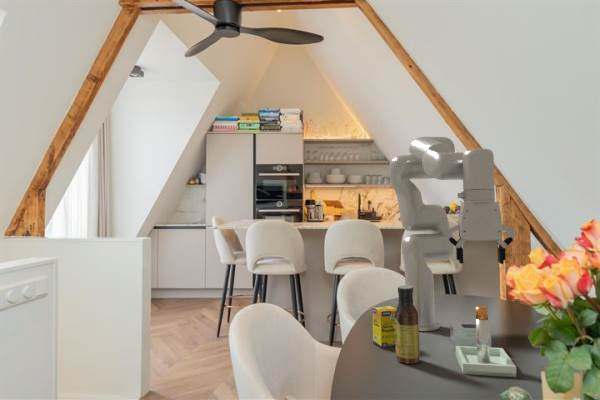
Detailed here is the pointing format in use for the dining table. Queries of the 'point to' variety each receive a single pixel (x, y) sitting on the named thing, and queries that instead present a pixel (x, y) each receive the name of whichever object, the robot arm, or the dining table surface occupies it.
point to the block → (464, 334)
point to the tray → (496, 367)
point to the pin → (482, 334)
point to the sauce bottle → (407, 327)
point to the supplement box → (384, 326)
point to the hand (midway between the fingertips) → (480, 263)
